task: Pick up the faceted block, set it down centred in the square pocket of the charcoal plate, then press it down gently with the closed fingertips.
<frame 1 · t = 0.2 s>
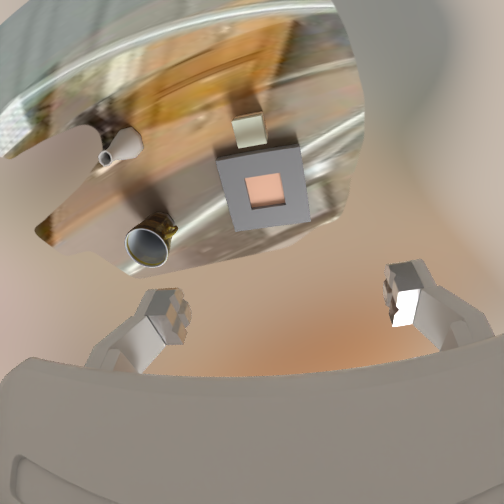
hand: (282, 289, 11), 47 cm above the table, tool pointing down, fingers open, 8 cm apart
pocket plate: (265, 187, 59), on the table
flask: (129, 143, 55), on the table
ceramic cup: (166, 221, 66), on the table
faceted block: (252, 125, 52), on the table
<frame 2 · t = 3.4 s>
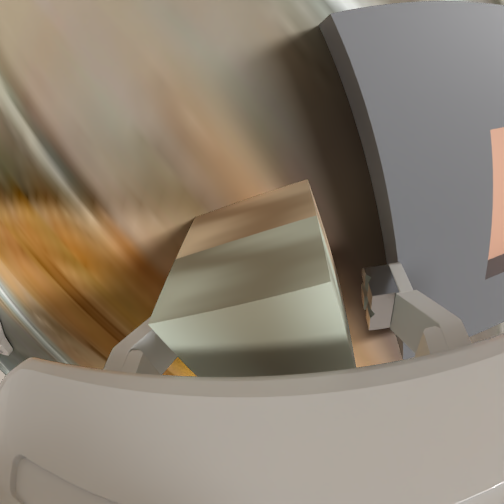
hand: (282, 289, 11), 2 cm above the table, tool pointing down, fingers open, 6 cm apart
faceted block: (270, 246, 13), on the table, touching gripper
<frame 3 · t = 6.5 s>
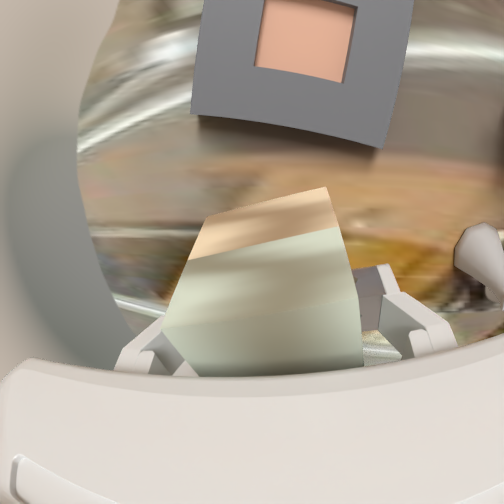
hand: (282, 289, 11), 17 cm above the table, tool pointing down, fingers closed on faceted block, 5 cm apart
pocket plate: (303, 36, 19), on the table
flask: (474, 245, 29), on the table
faceted block: (281, 251, 13), point 15 cm above the table, touching gripper
when the fingers open (5 cm above the table, at t = 9.1 s): faceted block drops 2 cm, resting on pocket plate.
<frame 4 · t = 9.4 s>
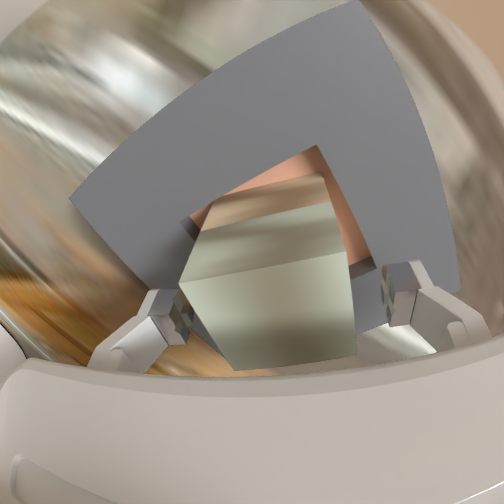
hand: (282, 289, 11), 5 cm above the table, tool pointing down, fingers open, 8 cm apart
pocket plate: (283, 220, 16), on the table
faceted block: (281, 230, 14), point 1 cm above the table, touching pocket plate
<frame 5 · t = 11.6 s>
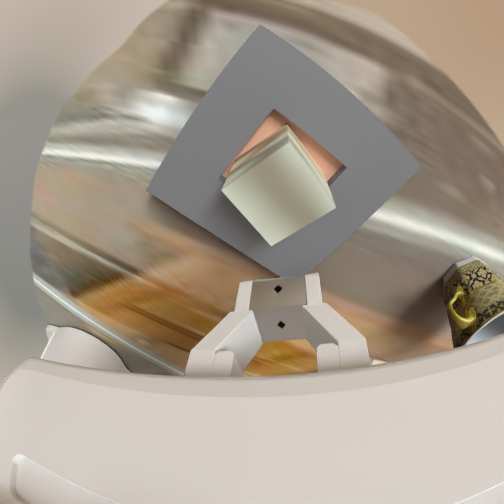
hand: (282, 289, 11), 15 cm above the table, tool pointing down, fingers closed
pocket plate: (282, 162, 23), on the table
ceramic cup: (456, 273, 29), on the table
faceted block: (279, 165, 22), point 1 cm above the table, touching pocket plate
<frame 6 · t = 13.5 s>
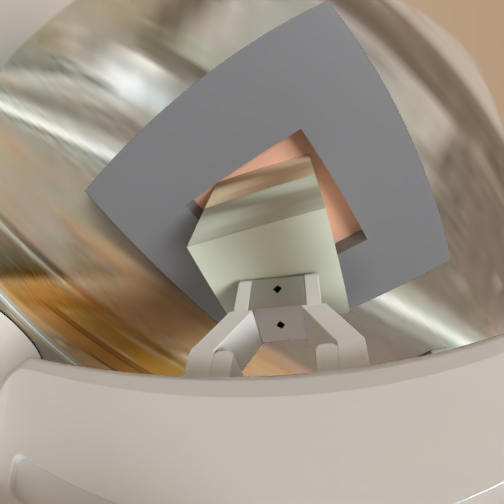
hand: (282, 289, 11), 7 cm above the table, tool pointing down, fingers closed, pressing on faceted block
pocket plate: (279, 201, 17), on the table
faceted block: (277, 208, 16), point 1 cm above the table, touching gripper, pocket plate
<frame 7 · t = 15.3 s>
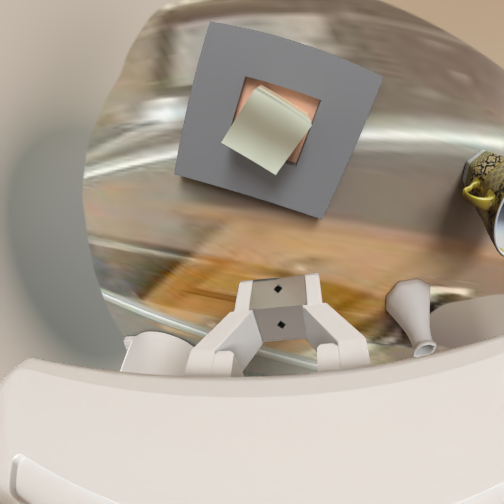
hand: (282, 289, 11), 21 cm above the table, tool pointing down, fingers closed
pocket plate: (273, 117, 27), on the table
flask: (407, 295, 38), on the table
ceramic cup: (473, 172, 26), on the table
faceted block: (270, 119, 26), point 1 cm above the table, touching pocket plate
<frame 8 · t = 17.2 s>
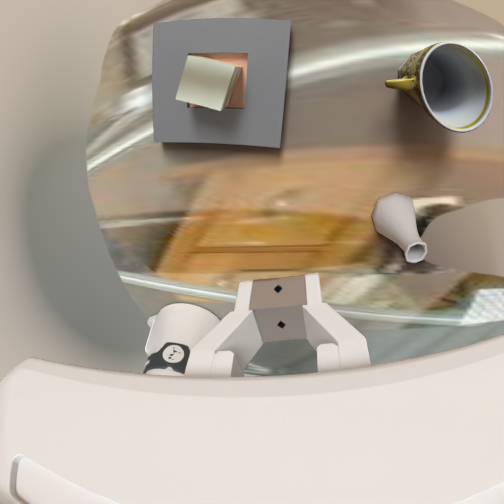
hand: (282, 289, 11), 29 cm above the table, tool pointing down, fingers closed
pocket plate: (220, 79, 32), on the table
flask: (392, 212, 40), on the table
ceramic cup: (410, 78, 29), on the table
faceted block: (216, 79, 31), point 1 cm above the table, touching pocket plate
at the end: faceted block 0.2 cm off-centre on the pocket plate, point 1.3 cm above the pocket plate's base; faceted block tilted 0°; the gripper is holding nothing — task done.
